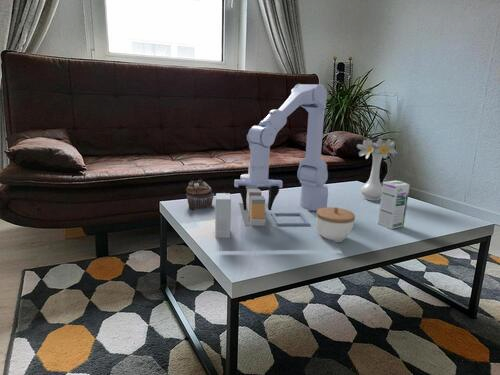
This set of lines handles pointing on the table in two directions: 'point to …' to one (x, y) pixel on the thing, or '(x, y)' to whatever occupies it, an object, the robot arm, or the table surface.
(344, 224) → the lidded jar
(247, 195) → the block
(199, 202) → the cupcake
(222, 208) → the skincare box
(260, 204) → the block
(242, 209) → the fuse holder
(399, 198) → the syrup box
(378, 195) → the flower vase
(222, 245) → the table surface
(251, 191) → the block
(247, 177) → the smoothie
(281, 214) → the tray
